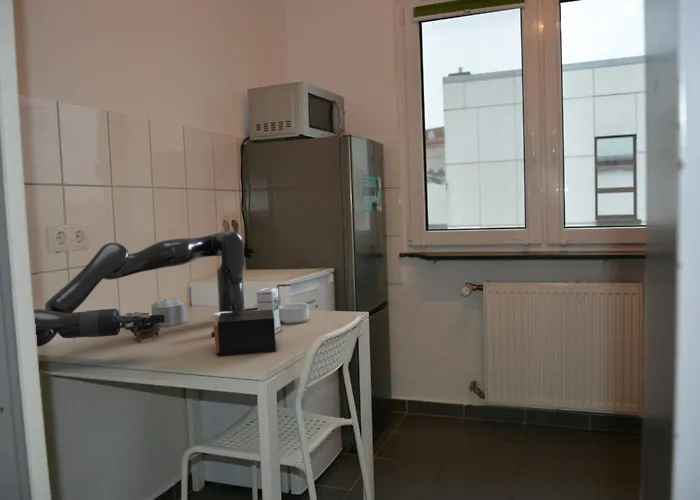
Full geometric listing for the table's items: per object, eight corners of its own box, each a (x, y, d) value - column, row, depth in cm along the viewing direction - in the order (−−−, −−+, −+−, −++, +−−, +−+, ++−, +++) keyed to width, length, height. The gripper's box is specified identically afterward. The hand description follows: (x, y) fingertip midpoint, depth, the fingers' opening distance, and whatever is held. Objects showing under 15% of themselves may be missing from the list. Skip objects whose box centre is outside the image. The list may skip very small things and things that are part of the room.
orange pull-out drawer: (211, 353, 158) (209, 325, 158) (214, 342, 171) (212, 317, 170) (267, 348, 161) (265, 321, 160) (266, 338, 174) (264, 313, 173)
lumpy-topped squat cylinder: (162, 327, 200) (160, 303, 200) (146, 323, 210) (145, 300, 209) (188, 322, 207) (187, 299, 207) (172, 318, 217) (171, 296, 216)
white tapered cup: (238, 331, 188) (237, 311, 188) (226, 336, 182) (225, 315, 182) (222, 330, 191) (221, 310, 191) (209, 335, 185) (208, 314, 184)
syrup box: (275, 334, 183) (273, 290, 182) (258, 334, 184) (256, 290, 183) (280, 330, 188) (278, 287, 187) (264, 330, 190) (262, 287, 189)
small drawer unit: (219, 356, 158) (217, 322, 158) (222, 344, 172) (220, 313, 171) (275, 351, 161) (274, 318, 160) (273, 340, 175) (272, 309, 174)
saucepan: (328, 314, 212) (327, 300, 211) (298, 325, 195) (297, 309, 194) (303, 312, 218) (302, 298, 217) (271, 323, 200) (271, 307, 200)
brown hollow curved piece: (167, 336, 188) (165, 317, 183) (152, 355, 180) (149, 336, 176) (136, 327, 190) (133, 308, 186) (119, 345, 182) (115, 326, 178)
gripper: (92, 314, 148) (159, 309, 151) (104, 305, 161) (167, 301, 164) (94, 342, 149) (161, 336, 152) (107, 331, 162) (168, 326, 165)
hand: (164, 318), depth 158 cm, fingers closed
